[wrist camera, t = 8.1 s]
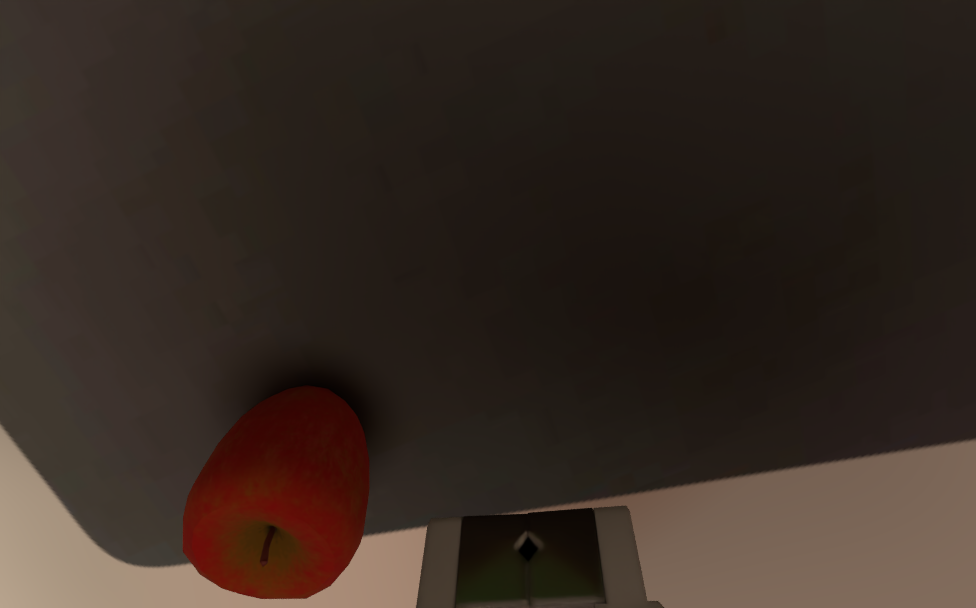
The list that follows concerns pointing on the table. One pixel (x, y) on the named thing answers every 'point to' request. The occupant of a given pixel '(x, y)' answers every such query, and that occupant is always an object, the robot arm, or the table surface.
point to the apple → (281, 498)
